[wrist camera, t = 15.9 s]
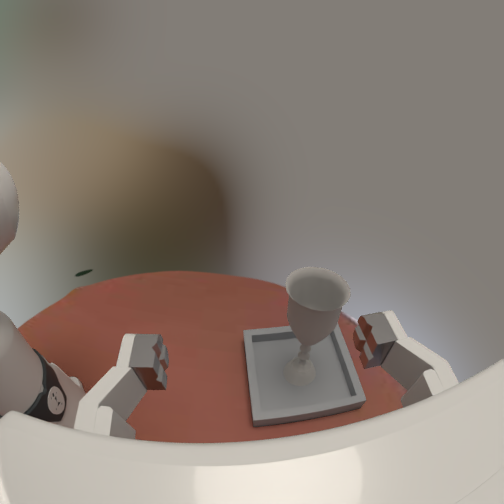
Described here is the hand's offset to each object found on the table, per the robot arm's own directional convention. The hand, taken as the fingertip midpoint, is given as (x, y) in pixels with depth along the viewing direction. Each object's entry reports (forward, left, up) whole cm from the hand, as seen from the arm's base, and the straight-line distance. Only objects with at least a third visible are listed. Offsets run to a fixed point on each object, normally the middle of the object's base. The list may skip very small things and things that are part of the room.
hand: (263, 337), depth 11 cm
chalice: (+8, +14, -29) cm, 33 cm away
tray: (+8, +14, -30) cm, 34 cm away
